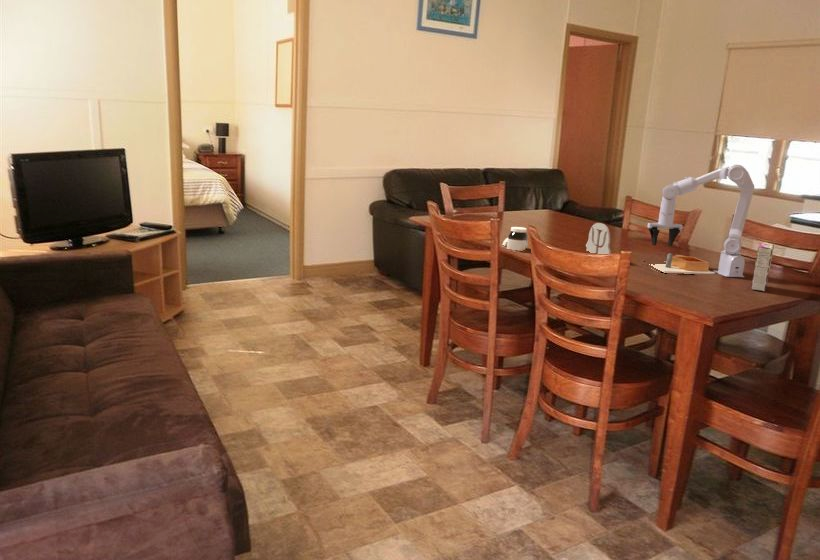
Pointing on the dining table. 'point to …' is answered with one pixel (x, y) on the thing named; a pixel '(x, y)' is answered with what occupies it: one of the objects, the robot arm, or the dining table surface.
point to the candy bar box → (762, 267)
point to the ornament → (599, 239)
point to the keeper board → (676, 268)
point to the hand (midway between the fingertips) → (661, 245)
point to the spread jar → (517, 239)
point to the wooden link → (689, 263)
